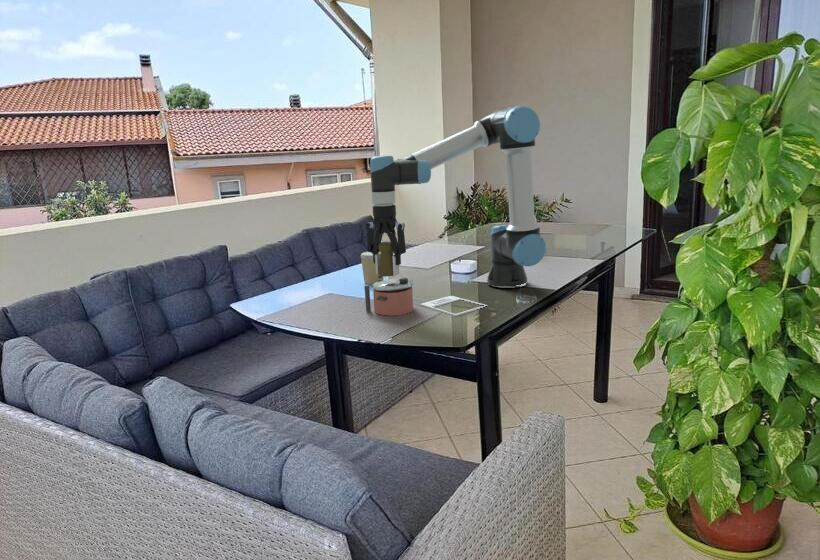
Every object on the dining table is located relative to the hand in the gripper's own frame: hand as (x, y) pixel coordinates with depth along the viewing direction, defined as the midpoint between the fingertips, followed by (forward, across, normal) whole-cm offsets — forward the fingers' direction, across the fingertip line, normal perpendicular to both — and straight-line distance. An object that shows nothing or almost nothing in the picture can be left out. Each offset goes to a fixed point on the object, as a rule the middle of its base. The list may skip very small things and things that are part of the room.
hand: (387, 273), depth 191 cm
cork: (0, 0, 0) cm, 1 cm away
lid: (+4, -2, 0) cm, 4 cm away
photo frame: (+13, -19, -11) cm, 25 cm away
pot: (+12, -2, 0) cm, 13 cm away
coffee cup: (+13, +25, -31) cm, 42 cm away
